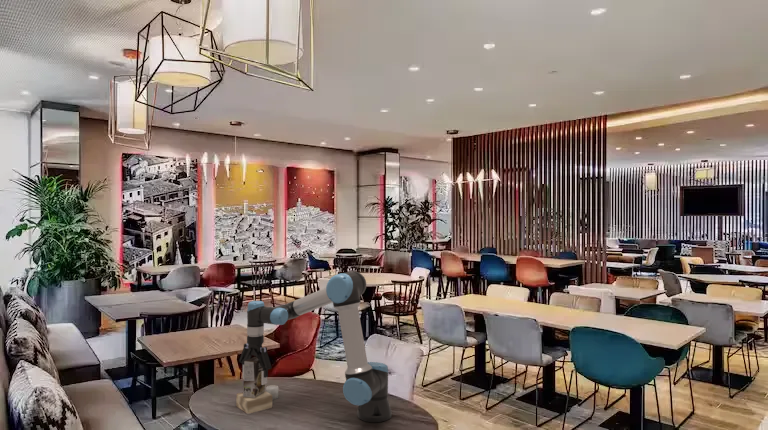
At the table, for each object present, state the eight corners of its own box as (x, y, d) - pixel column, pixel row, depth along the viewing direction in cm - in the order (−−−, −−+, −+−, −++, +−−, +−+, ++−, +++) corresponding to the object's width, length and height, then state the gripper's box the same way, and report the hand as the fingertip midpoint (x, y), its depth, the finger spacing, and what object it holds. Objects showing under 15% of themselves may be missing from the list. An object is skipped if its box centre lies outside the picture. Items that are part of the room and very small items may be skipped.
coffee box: (255, 398, 219) (256, 362, 219) (242, 396, 221) (243, 360, 221) (265, 392, 228) (266, 357, 228) (253, 390, 229) (254, 356, 230)
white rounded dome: (280, 397, 237) (281, 386, 237) (271, 400, 232) (271, 390, 232) (272, 394, 241) (272, 384, 241) (263, 397, 236) (263, 387, 236)
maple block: (272, 408, 224) (272, 395, 224) (247, 414, 216) (247, 401, 216) (260, 400, 233) (260, 388, 233) (236, 406, 225) (236, 393, 225)
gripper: (279, 337, 220) (279, 384, 220) (245, 329, 235) (244, 373, 235) (266, 340, 214) (266, 389, 214) (231, 332, 229) (231, 377, 229)
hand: (254, 381), depth 224 cm, fingers open, 13 cm apart
